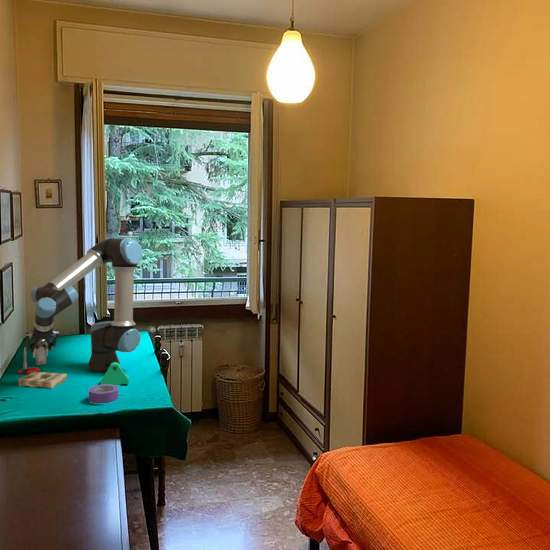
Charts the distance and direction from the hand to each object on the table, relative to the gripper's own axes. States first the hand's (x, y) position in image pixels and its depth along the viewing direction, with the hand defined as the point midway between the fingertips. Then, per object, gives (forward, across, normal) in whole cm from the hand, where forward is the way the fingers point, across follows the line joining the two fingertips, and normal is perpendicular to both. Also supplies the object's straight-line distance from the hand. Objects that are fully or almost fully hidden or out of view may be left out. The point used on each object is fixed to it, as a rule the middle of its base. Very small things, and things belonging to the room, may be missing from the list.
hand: (40, 354), depth 246 cm
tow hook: (+22, -3, +4) cm, 23 cm away
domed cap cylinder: (0, 0, -5) cm, 5 cm away
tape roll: (-18, +20, -36) cm, 45 cm away
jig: (+6, 0, -11) cm, 13 cm away
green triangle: (-4, +29, -22) cm, 37 cm away
